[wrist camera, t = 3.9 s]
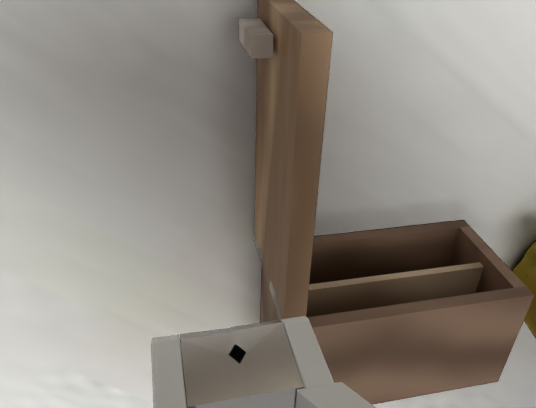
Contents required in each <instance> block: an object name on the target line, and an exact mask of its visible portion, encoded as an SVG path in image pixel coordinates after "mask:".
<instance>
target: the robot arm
mask: <svg viewBox="0 0 536 408" xmlns="http://www.w3.org/2000/svg"><path fill="white" fill-rule="evenodd" d="M180 345H181V348H180ZM181 356H182V357H181ZM151 358H152V382H153V407H154V408H376V407H374V406H373V405H372V404H370V403H369V402H368V401H366V400H365V399H364V398H362V397H361V396H360V395H358V394H357V393H356V392H354V391H353V390H352V389H351V388H349V387H348V386H347V385H345V384H344V383H343V382H337V383H334V381H333V379H332V376H331V374H330V371H329V369H328V366H327V364H326V361H325V359H324V356H323V354H322V351H321V349H320V346H319V344H318V341H317V339H316V336H315V334H314V331H313V329H312V326H311V324H310V321H309V319H308V318H307V317H306V316H301V317H294V318H288V319H281V320H273V321H267V322H261V323H254V324H248V325H242V326H235V327H230V328H226V329H217V330H209V331H201V332H193V333H184V334H180V339H179V335H171V336H163V337H155V338H152V342H151ZM182 366H183V367H182Z"/></svg>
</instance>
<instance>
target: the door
mask: <svg viewBox="0 0 536 408" xmlns="http://www.w3.org/2000/svg"><path fill="white" fill-rule="evenodd" d="M332 36H333V32H332V31H331V30H330V29H328V28H327V27H326V26H325V25H323V24H322V23H321V22H320V21H319V20H317V19H316V18H315V17H314V16H312V15H311V14H310V13H309V12H308V11H306V10H305V9H304V8H303V7H301V6H300V5H299V4H298V3H297V2H295V1H294V0H258V19H239V41H240V42H241V44H242V46H243V47H244V49H245V51H246V52H247V54H248V56H249V57H250V59H257V102H256V167H255V231H254V235H255V239H254V241H255V245H256V248H257V251H258V254H259V257H260V260H261V263H262V266H263V268H264V269H265V270H266V272H267V275H268V278H269V281H270V283H269V288H270V291H271V294H272V297H273V300H274V303H275V306H276V310H277V313H278V316H279V319H280V320H281V319H288V318H294V317H301V316H306V312H307V302H308V291H309V280H310V270H311V259H312V249H313V238H314V227H315V217H316V206H317V195H318V185H319V174H320V164H321V153H322V142H323V132H324V121H325V110H326V100H327V89H328V78H329V68H330V57H331V47H332Z"/></svg>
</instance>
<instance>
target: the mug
mask: <svg viewBox="0 0 536 408" xmlns="http://www.w3.org/2000/svg"><path fill="white" fill-rule="evenodd" d="M512 272H513V273H514V274H515V275H516V276H517V277H518V278H519V279H520V280H521V281H522V282H523V283H524V285H525V286H526V287H527V288H528V289H529V290H530V291H531V292H532V293H533V294H534V297H533V299H532V302H531V304H530V306H529V309H528V311H527V314H526V316H525V318H524V321H525V323H526V324H527V326H528V328H529V329H530V331H531V332H532V334H533V335H534V337H535V338H536V241H535V242H534V243H533V244H532V245H531V247H530V248H529V249H528V250H527V252H526V253H525V255H524V257H523V259H522V261H521V262H520V263H519V264H517V266H516V267H515V268H514V269H513V271H512Z"/></svg>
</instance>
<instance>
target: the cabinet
mask: <svg viewBox="0 0 536 408" xmlns="http://www.w3.org/2000/svg"><path fill="white" fill-rule="evenodd" d="M269 283H270V281H269V278H268V275H267V272H266V270H265V269H264V268H263V266H262V269H261V307H260V323H261V322H267V321H273V320H280V319H279V316H278V313H277V310H276V306H275V303H274V300H273V297H272V294H271V291H270V288H269ZM533 297H534V294H533V293H532V292H531V291H530V290H529V289H528V288H527V287H526V286H525V285H524V283H523V282H522V281H521V280H520V279H519V278H518V277H517V276H516V275H515V274H514V273H513V272H512V271H511V270H510V269H509V268H508V266H507V265H506V264H505V263H504V262H503V261H502V260H501V259H500V258H499V257H498V256H497V255H496V254H495V253H494V252H493V250H492V249H491V248H490V247H489V246H488V245H487V244H486V243H485V242H484V241H483V240H482V239H481V238H480V237H479V236H478V235H477V233H476V232H475V231H474V230H473V229H472V228H471V227H470V226H469V225H468V224H467V223H466V222H465V221H464V220H459V221H450V222H441V223H432V224H424V225H415V226H406V227H397V228H388V229H379V230H370V231H361V232H352V233H343V234H334V235H325V236H316V237H314V238H313V249H312V259H311V270H310V280H309V291H308V302H307V312H306V317H307V318H308V319H309V321H310V324H311V326H312V329H313V331H314V334H315V336H316V339H317V341H318V344H319V346H320V349H321V351H322V354H323V356H324V359H325V361H326V364H327V366H328V369H329V371H330V374H331V376H332V379H333V381H334V383H337V382H343V383H344V384H345V385H347V386H348V387H349V388H351V389H352V390H353V391H354V392H356V393H357V394H358V395H360V396H361V397H362V398H364V399H365V400H366V401H368V402H369V403H370V404H378V403H383V402H389V401H394V400H400V399H405V398H411V397H416V396H421V395H427V394H432V393H438V392H443V391H449V390H454V389H460V388H465V387H471V386H476V385H482V384H487V383H493V382H498V380H499V378H500V375H501V373H502V371H503V368H504V366H505V364H506V361H507V359H508V356H509V354H510V352H511V349H512V347H513V344H514V342H515V340H516V337H517V335H518V333H519V330H520V328H521V325H522V323H523V321H524V318H525V316H526V314H527V311H528V309H529V306H530V304H531V302H532V299H533Z"/></svg>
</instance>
